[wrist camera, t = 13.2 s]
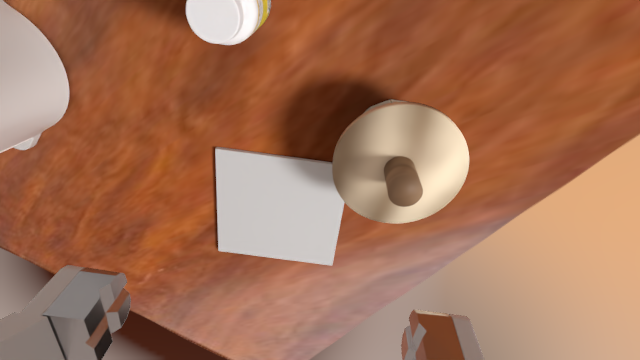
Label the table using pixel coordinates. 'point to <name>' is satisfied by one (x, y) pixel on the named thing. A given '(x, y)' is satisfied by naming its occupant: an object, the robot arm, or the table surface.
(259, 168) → the mat
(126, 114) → the table surface
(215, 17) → the supplement bottle
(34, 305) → the robot arm
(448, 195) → the lid
